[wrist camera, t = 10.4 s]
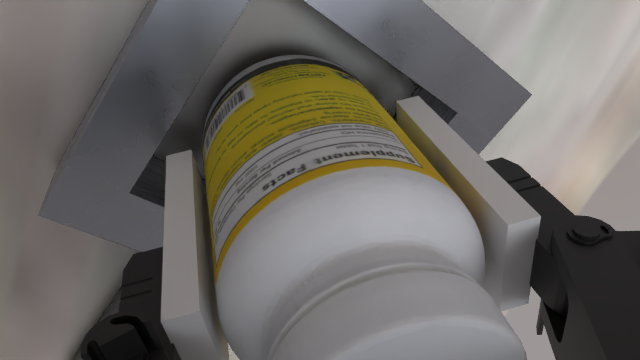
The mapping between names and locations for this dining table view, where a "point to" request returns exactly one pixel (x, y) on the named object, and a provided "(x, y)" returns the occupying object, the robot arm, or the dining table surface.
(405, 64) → the low gray tray
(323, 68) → the pill bottle
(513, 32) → the dining table surface
